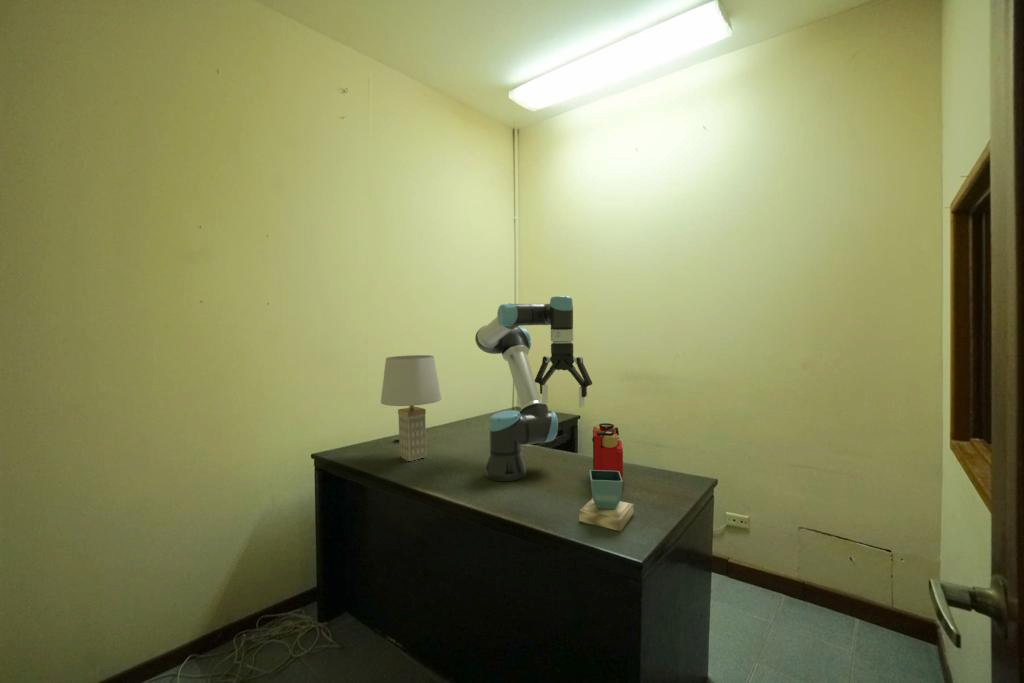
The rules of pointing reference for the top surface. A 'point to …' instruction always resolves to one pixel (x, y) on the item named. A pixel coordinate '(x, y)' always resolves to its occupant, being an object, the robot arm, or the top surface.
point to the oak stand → (607, 515)
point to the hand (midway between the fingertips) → (562, 405)
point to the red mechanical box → (607, 448)
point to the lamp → (411, 398)
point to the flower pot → (606, 488)
